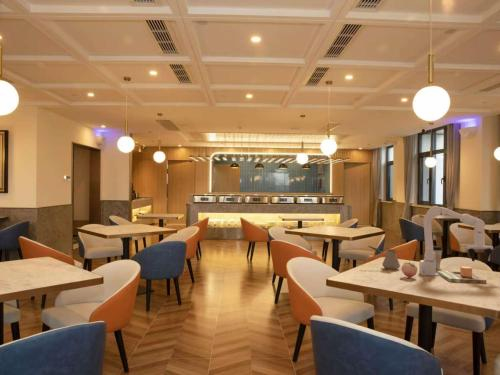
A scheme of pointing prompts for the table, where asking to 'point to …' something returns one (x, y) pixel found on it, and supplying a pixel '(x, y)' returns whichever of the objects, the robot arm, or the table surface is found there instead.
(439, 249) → the coffee cup
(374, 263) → the table surface
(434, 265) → the robot arm
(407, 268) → the decorative fruit
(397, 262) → the coffee pot
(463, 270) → the block
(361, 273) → the table surface
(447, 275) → the trap board
